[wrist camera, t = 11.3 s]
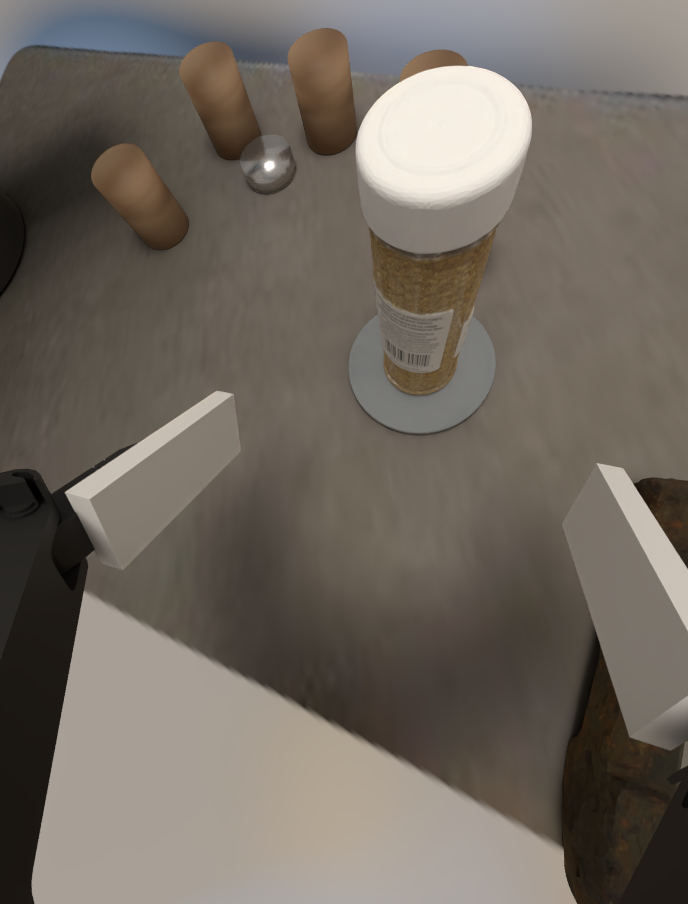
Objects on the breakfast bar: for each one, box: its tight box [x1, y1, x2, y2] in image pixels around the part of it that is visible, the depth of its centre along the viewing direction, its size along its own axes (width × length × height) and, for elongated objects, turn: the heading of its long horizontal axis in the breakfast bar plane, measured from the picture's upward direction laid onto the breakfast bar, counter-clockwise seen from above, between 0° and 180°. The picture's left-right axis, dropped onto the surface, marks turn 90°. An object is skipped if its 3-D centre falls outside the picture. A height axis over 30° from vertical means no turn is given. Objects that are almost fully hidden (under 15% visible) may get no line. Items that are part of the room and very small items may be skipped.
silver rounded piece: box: [240, 134, 296, 194], centre depth 27 cm, size 4×4×2 cm
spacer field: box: [91, 28, 468, 250], centre depth 24 cm, size 26×18×5 cm
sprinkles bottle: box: [356, 66, 532, 395], centre depth 15 cm, size 5×4×14 cm
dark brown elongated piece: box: [563, 478, 688, 904], centre depth 16 cm, size 19×4×5 cm, turn 156°
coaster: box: [349, 314, 496, 435], centre depth 22 cm, size 9×9×1 cm
